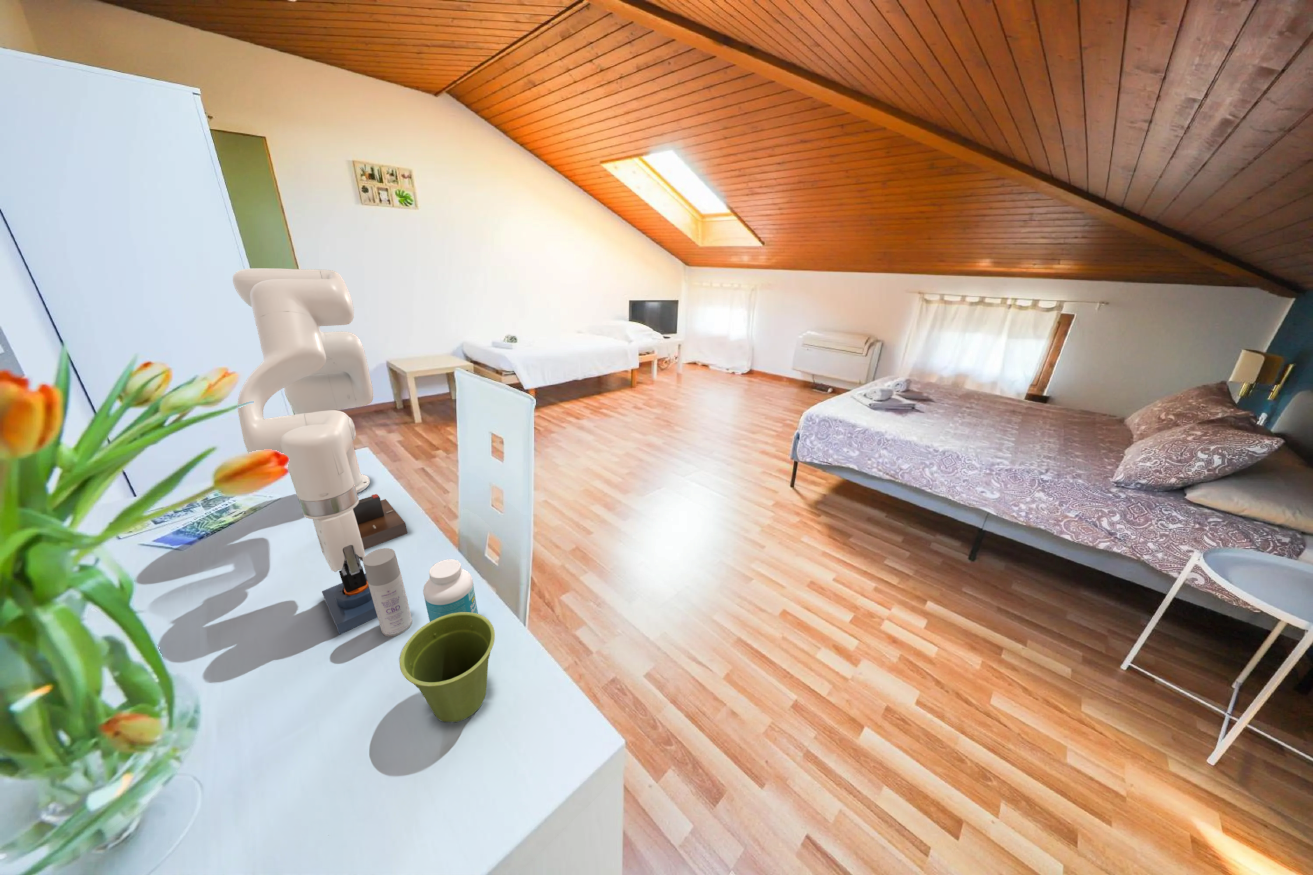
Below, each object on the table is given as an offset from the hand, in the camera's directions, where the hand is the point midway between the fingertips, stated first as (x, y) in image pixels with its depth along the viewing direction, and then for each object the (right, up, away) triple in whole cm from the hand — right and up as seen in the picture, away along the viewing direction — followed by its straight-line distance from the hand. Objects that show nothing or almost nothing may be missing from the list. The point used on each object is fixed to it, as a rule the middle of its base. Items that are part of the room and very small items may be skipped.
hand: (355, 586), depth 77 cm
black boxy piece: (-12, +8, +21) cm, 25 cm away
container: (+9, -6, -2) cm, 11 cm away
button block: (0, -4, +2) cm, 4 cm away
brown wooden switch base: (-12, +5, +22) cm, 26 cm away
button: (0, -2, +1) cm, 2 cm away
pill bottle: (+20, -7, -3) cm, 21 cm away
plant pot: (+26, -12, -14) cm, 32 cm away
